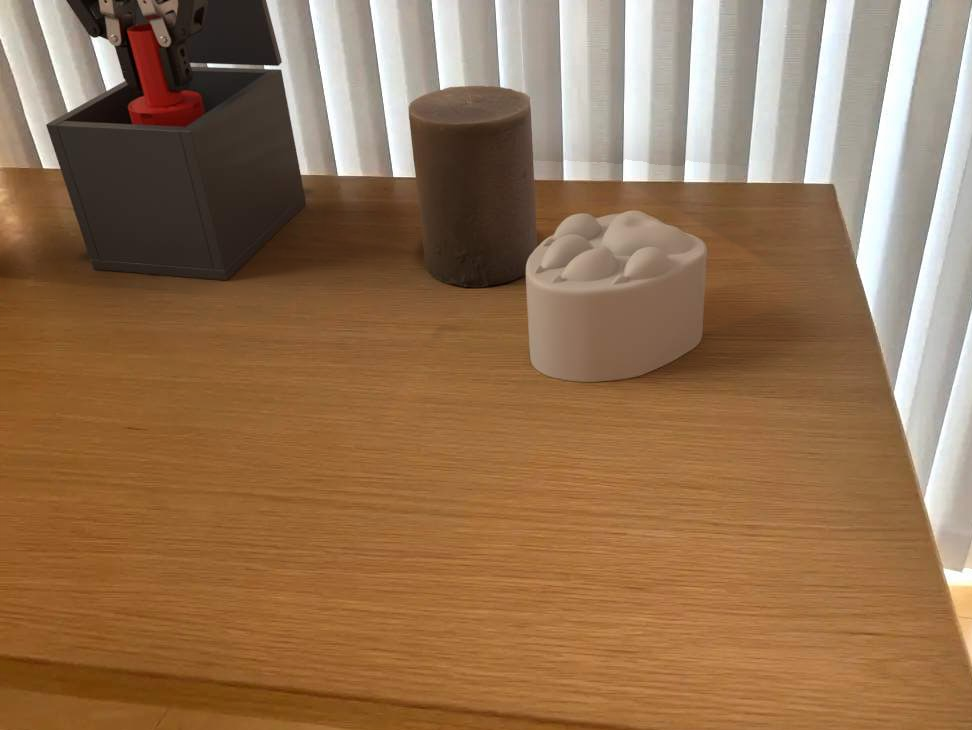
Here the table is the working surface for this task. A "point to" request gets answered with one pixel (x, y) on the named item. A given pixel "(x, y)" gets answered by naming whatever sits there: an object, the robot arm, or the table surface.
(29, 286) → the table surface
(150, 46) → the bottle
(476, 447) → the table surface
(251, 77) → the bin
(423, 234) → the pillar candle
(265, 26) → the lid
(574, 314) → the lumpy-topped squat cylinder
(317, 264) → the table surface
